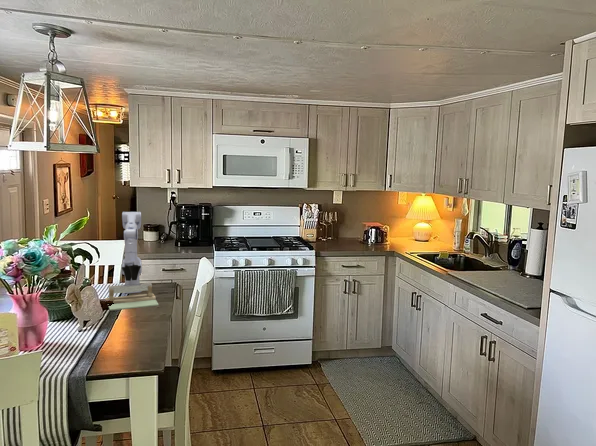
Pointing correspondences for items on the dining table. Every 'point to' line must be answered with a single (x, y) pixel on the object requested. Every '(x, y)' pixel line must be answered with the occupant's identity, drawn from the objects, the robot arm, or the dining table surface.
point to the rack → (131, 297)
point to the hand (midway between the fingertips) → (131, 280)
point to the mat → (133, 305)
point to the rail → (130, 288)
